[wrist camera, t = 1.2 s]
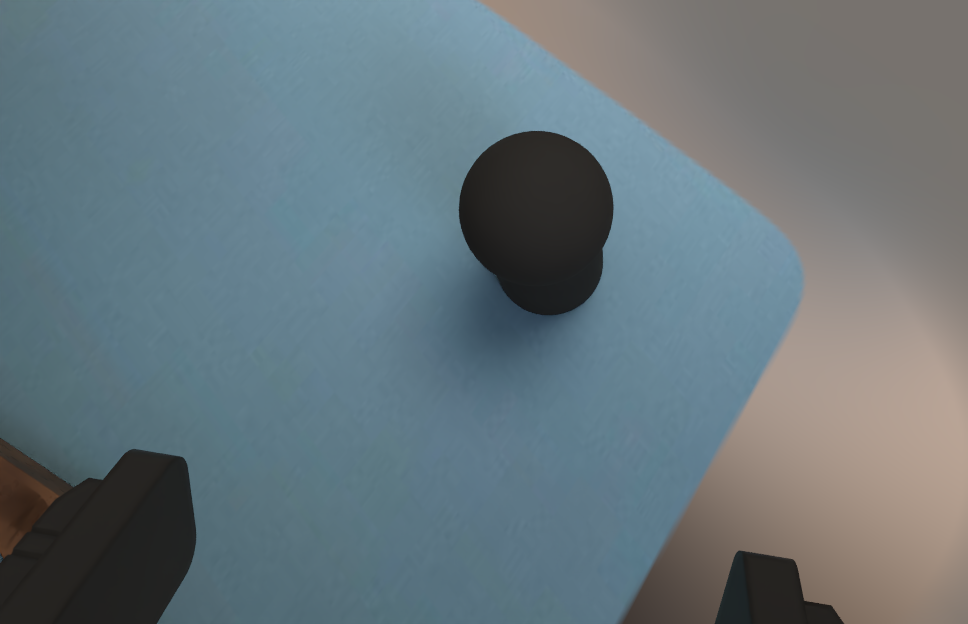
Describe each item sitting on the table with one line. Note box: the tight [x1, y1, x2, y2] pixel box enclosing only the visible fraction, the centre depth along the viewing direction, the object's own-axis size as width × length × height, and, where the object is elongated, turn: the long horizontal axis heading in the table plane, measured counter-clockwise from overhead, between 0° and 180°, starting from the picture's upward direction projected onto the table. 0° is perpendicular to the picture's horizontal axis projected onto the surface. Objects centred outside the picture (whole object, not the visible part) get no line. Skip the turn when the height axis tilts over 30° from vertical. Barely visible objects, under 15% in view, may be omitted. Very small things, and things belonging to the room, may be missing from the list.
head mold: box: [459, 131, 613, 315], centre depth 32 cm, size 5×5×10 cm
